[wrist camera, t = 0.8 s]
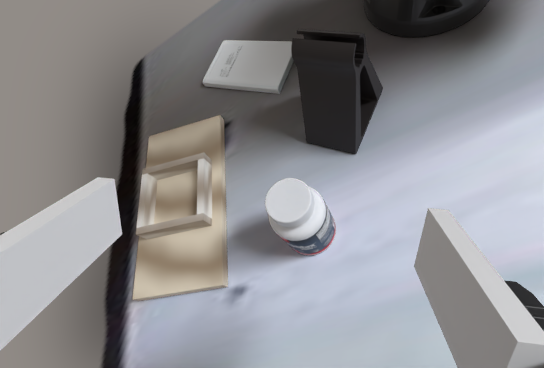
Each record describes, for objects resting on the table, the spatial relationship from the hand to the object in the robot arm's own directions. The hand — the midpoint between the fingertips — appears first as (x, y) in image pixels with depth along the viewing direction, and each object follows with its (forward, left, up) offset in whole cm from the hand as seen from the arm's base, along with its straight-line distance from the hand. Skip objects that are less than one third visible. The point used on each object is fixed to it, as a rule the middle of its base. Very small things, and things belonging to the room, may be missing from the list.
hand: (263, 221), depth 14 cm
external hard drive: (-16, -29, -21) cm, 39 cm away
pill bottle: (-3, -6, -21) cm, 22 cm away
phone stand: (-16, -12, -21) cm, 29 cm away
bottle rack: (+4, -21, -21) cm, 30 cm away
